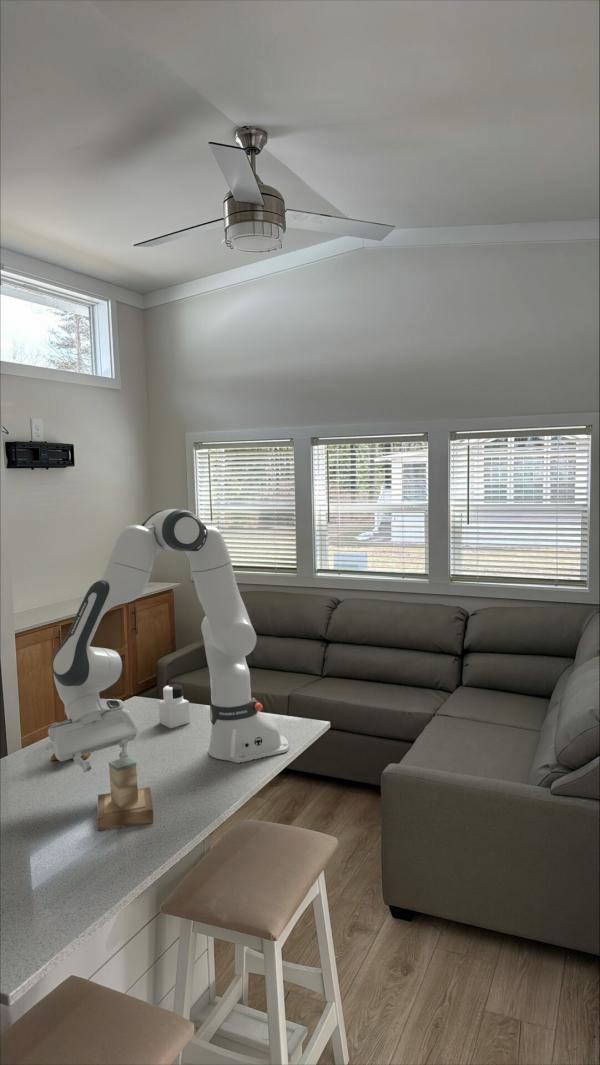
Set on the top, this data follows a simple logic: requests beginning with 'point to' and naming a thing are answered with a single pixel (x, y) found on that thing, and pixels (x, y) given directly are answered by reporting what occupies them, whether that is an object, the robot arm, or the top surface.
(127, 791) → the tan tall block
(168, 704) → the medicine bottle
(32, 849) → the top surface
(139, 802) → the base slab
